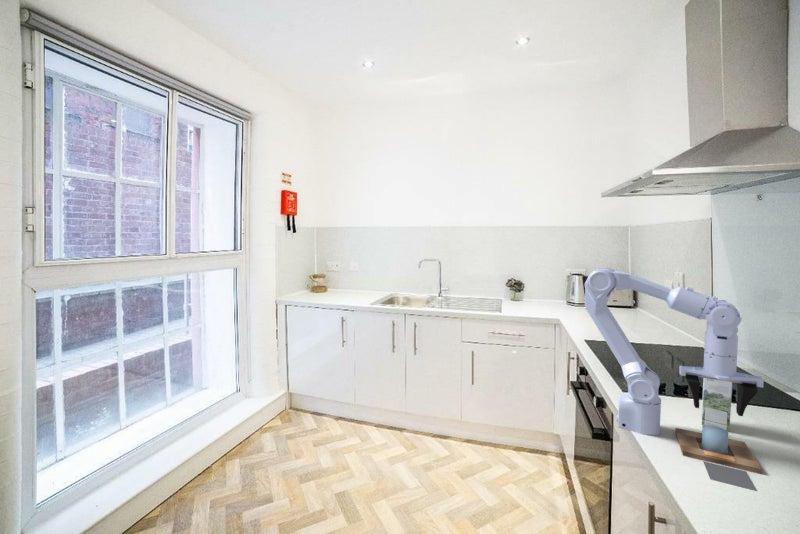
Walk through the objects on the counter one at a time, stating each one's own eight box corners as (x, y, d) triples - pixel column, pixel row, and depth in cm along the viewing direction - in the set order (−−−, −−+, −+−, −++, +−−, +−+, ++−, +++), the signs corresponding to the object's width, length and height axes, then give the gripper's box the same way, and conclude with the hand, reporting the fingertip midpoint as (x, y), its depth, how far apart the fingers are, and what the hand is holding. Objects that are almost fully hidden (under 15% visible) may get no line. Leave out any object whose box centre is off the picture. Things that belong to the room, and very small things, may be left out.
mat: (710, 483, 73) (710, 479, 73) (702, 465, 79) (703, 461, 79) (757, 496, 69) (757, 491, 69) (745, 475, 75) (746, 471, 75)
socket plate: (682, 459, 81) (683, 450, 81) (675, 435, 91) (675, 427, 91) (761, 478, 75) (761, 468, 74) (743, 450, 85) (744, 441, 85)
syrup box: (729, 424, 97) (732, 371, 96) (729, 432, 92) (732, 378, 92) (701, 417, 101) (704, 367, 100) (701, 425, 96) (703, 372, 95)
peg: (703, 457, 82) (704, 431, 82) (699, 447, 86) (700, 423, 86) (729, 463, 80) (730, 437, 80) (724, 453, 84) (725, 428, 83)
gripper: (683, 353, 83) (680, 409, 84) (769, 363, 76) (766, 425, 77) (679, 345, 89) (676, 398, 90) (759, 354, 82) (755, 412, 83)
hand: (717, 410), depth 84 cm, fingers open, 7 cm apart
